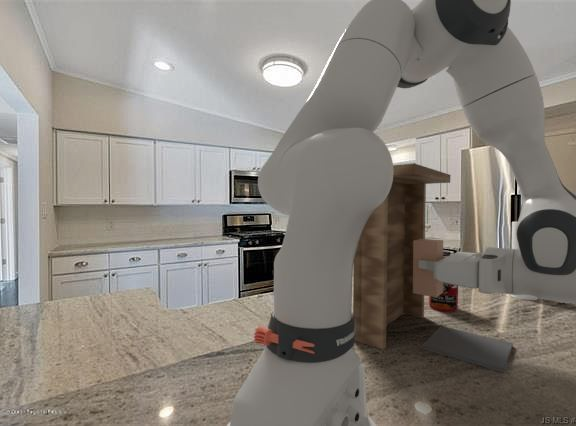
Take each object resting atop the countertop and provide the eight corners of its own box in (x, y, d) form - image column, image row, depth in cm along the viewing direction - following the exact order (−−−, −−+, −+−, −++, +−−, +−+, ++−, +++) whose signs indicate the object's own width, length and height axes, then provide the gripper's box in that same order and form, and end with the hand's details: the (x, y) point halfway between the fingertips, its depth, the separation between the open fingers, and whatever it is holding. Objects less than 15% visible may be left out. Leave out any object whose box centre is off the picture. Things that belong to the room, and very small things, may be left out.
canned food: (428, 309, 89) (428, 272, 89) (429, 302, 96) (430, 267, 96) (458, 314, 85) (458, 274, 85) (457, 306, 92) (458, 269, 92)
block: (442, 292, 70) (443, 240, 70) (436, 297, 67) (436, 242, 66) (420, 288, 74) (420, 238, 73) (413, 293, 70) (413, 240, 70)
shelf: (448, 322, 79) (450, 174, 78) (412, 359, 60) (414, 163, 59) (398, 310, 88) (400, 177, 87) (352, 339, 68) (354, 168, 68)
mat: (512, 346, 65) (512, 342, 65) (503, 372, 55) (504, 368, 55) (441, 329, 75) (441, 325, 75) (422, 348, 64) (422, 345, 64)
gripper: (503, 248, 69) (437, 243, 78) (488, 260, 54) (408, 252, 63) (502, 276, 69) (437, 268, 78) (487, 296, 54) (408, 283, 63)
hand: (424, 261), depth 71 cm, fingers closed on block, 5 cm apart
